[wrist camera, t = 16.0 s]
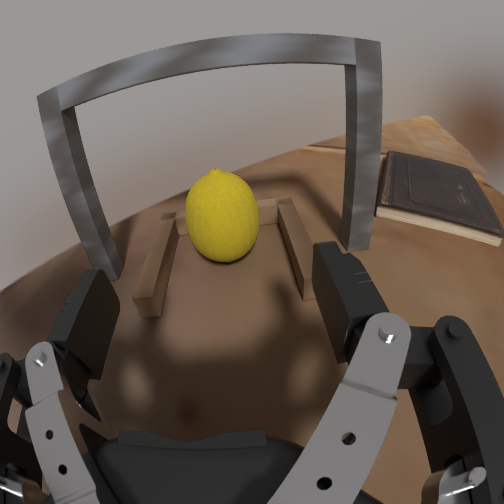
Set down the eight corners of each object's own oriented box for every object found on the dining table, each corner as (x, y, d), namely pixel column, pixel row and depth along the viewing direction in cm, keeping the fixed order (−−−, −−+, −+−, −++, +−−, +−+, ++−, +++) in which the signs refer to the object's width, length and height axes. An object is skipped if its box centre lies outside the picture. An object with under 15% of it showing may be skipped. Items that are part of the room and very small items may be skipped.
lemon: (187, 258, 24) (165, 172, 19) (240, 235, 26) (229, 153, 22) (215, 293, 20) (193, 192, 15) (276, 263, 22) (270, 167, 18)
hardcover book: (466, 180, 36) (468, 169, 35) (500, 253, 21) (507, 235, 19) (386, 162, 43) (386, 149, 42) (373, 221, 27) (376, 201, 26)
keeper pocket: (83, 320, 18) (-5, 108, 9) (122, 236, 28) (81, 87, 18) (392, 285, 19) (421, 38, 9) (340, 209, 29) (340, 48, 19)
